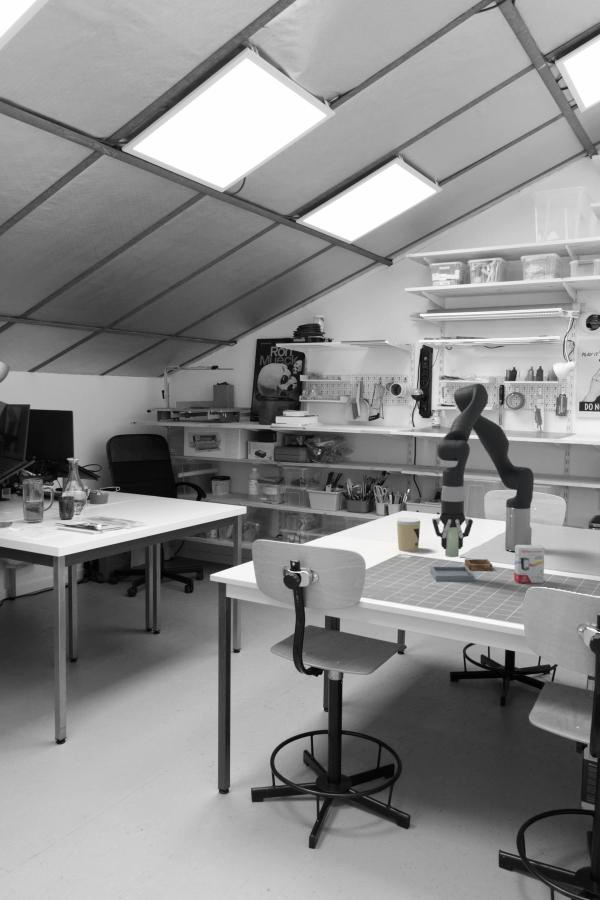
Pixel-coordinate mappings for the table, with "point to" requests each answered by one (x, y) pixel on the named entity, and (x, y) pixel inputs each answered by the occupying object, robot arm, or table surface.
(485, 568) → the socket
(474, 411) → the robot arm
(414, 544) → the coffee cup
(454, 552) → the peg
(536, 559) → the ink box
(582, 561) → the table surface
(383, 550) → the table surface
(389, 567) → the table surface
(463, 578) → the tray
